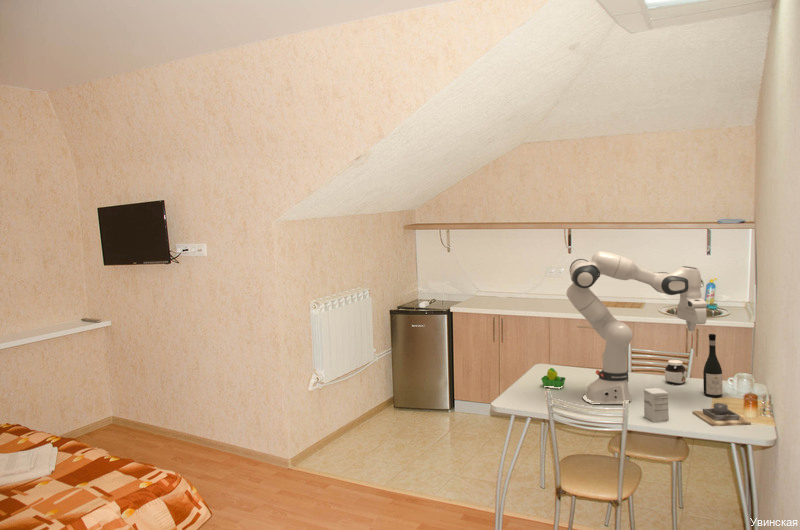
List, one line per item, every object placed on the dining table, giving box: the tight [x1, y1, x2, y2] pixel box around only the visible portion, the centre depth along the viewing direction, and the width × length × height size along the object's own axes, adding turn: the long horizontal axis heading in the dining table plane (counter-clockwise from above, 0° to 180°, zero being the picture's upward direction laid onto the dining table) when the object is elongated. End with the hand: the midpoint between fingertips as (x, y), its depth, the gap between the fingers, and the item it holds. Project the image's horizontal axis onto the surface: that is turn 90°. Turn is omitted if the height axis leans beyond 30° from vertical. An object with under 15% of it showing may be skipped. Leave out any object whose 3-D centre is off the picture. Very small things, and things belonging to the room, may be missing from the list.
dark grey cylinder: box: [713, 402, 729, 416], centre depth 238 cm, size 5×5×5 cm
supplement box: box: [643, 387, 669, 423], centre depth 241 cm, size 7×7×13 cm
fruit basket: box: [540, 367, 566, 387], centre depth 295 cm, size 11×9×11 cm
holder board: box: [692, 407, 752, 427], centre depth 238 cm, size 16×16×3 cm
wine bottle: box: [702, 333, 723, 398], centre depth 269 cm, size 8×8×30 cm
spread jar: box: [664, 359, 687, 386], centre depth 295 cm, size 12×11×12 cm
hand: (691, 330), depth 258 cm, fingers closed
